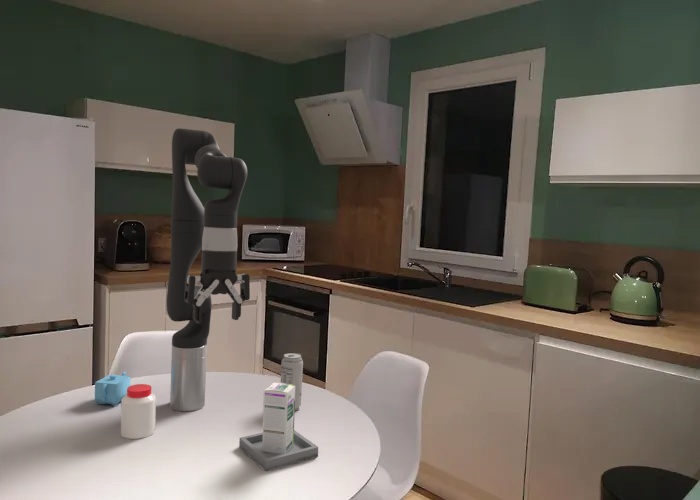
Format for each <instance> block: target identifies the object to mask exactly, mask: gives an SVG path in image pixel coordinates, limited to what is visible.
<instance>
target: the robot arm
mask: <svg viewBox="0 0 700 500" xmlns="http://www.w3.org/2000/svg"><path fill="white" fill-rule="evenodd" d="M171 138H172V139H171V166H172V167H171V168H172V169H171V170H172V203H171V218H170V219H171V220H170V221H171V222H170V265H169V275H168V283H167V291H166V292H167V293H166V312H167V315H168V317H169V319H170V320H171V321H173V322H176V323H177V322H185V321H186V322H187V321H188V323H187V324H186V325H185V326H184V327H182V328H181V329H179V330H177V331H176V332H175V333H173V335H172V337H171V363H170V364H171V365H170V366H171V368H170V369H171V370H170V395H169V396H170V397H169V407H170V408H171V409H172V410H174V411H177V412H189V411H190V412H191V411H192V412H193V411H197V410H200V409H201V408H203V407H204V406H206V405H205V403H206V379H207V378H206V377H207V357H208V356H207V355H208V354H207V353H208V352H207V349H208V338H209V335H210V329H211V317H212V304H213V303H212V302H213V301H212V296H214V295H215V296H216V295H219V294H221V295H229V297H230V299H231V300H232V301H233V302H231V319H232V320H234V321H239V318H241V315H242V303H243V302H245V301H249V300H250V299H251V298H250V297H251V295H250V292H251V291H250V287H251V286H250V284H251V283H250V274H248V273H244V272H241V273H240V274H239V273H238V274H237V263H238V262H237V261H238V245H239V244H238V212H239V211H238V209H239V206H240V200H241V198H242V197H241V196H242V194H243V191H244V188H245V185H246V182H247V178H248V166H247V164H246V163H245V161H244V160H243V159H241V158H239V157H232V156H227V154H225V153H224V152H223V151H222V150H221V149H220V147H219V143H218V141H217V139H216V137H215V136H214V135H213V134H212V133H210V132H208V131H205V130H197V129H188V128H179V127H178V128H176V129H175V130H174V131H173V133H172V137H171ZM186 165H191V166H193V165H194V166H195V167H196V169H197V170H196V171H197V172H196V173H197V174H196V175H197V180H198V183H199V184H200V185H201V186H202V187H204V188H208V189H217V190H219V189H220V190H228V192H227V194H226V195H225V196H224V197H222V198H217V199H210V200H207V201H206V202H205V204H204V205H203V203H202V202H201V200H200V198H199V197H198V195H197V193H195V190H194V189H193V187H192V185H191V183H190V180H189V177H188V173H187V168H186ZM200 251H201V261H200V262H201V266H200V275H192V274H189V273H190V270H191V267H192V265H193V264H194V261H195V260H196V258H197V256H198V255H199V254H200ZM199 282H200V284H201V285H198V283H199ZM236 282H238V283H239V292H238V290H237V289H236V287H234V285H235V284H236ZM211 295H212V296H211Z"/></svg>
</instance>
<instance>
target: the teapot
mask: <svg viewBox="0 0 700 500" xmlns="http://www.w3.org/2000/svg"><path fill="white" fill-rule="evenodd" d="M127 373H128V371H123V372H122V374H121V375H120V374H108V375H107V376H106V375H105V376H104V377H103V378H101V379H99V380H97V381H94V403H98V404H99V405H101V404H103V405H106V404H109V405H113V406H114V407H116V406H115V405H117V406H118V405H119V403H120V402H122V398H123V397H124V396H125V395H126V394H127V388H128V387H129V386H131V376H128V375H127ZM113 406H112V407H113Z"/></svg>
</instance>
